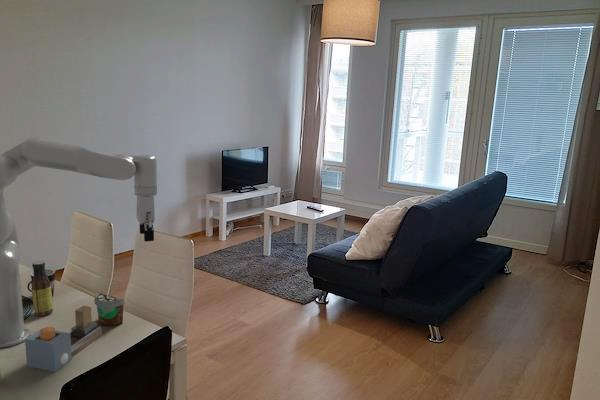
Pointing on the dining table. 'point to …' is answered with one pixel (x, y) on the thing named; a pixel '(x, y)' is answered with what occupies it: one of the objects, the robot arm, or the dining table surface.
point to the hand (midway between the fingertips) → (146, 237)
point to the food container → (109, 310)
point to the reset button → (47, 333)
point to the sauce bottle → (41, 290)
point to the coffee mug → (50, 276)
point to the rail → (84, 340)
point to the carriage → (83, 322)
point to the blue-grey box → (48, 351)
